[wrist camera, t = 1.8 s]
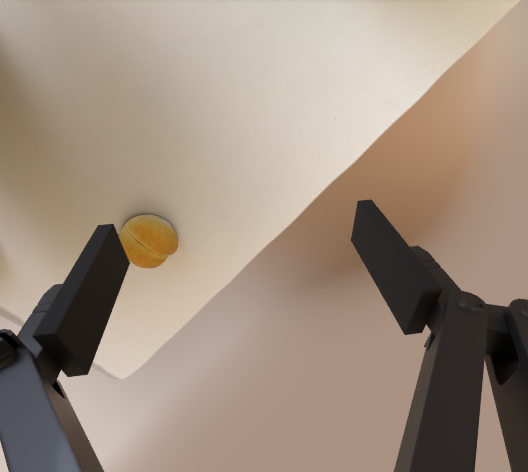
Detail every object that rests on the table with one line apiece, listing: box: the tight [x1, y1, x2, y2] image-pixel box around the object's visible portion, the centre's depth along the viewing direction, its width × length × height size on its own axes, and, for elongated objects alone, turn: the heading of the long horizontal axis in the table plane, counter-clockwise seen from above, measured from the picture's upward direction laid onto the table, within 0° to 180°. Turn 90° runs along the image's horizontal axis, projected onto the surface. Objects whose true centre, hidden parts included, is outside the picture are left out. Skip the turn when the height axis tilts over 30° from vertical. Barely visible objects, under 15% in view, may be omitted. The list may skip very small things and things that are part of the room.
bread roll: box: [119, 214, 178, 268], centre depth 45 cm, size 8×9×4 cm
